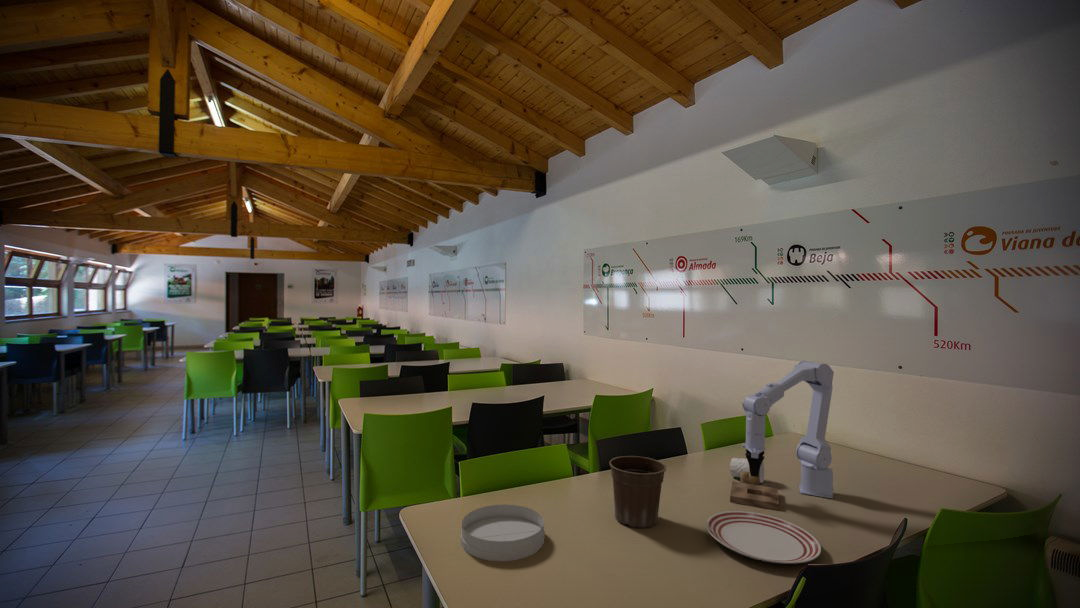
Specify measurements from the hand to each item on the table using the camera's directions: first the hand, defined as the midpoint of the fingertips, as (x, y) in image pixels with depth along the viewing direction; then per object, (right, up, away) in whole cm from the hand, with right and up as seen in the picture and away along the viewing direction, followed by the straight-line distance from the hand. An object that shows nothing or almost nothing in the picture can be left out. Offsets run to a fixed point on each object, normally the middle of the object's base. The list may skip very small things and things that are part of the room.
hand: (754, 474), depth 159 cm
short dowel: (+2, -8, +12) cm, 15 cm away
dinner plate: (-12, -8, -31) cm, 34 cm away
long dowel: (0, -3, 0) cm, 3 cm away
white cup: (+1, -5, +20) cm, 21 cm away
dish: (-80, -7, -30) cm, 86 cm away
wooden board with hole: (0, -8, 0) cm, 8 cm away
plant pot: (-42, -7, -17) cm, 46 cm away
